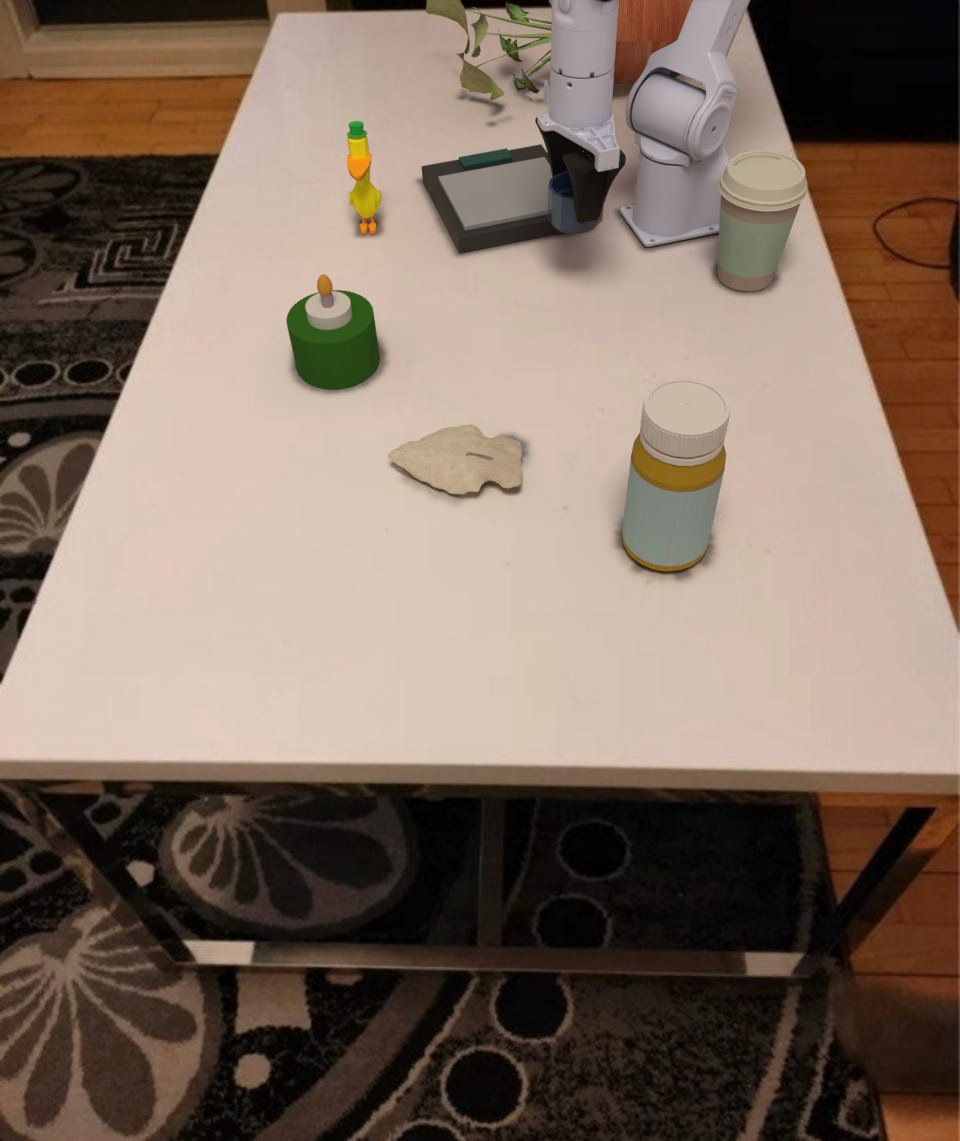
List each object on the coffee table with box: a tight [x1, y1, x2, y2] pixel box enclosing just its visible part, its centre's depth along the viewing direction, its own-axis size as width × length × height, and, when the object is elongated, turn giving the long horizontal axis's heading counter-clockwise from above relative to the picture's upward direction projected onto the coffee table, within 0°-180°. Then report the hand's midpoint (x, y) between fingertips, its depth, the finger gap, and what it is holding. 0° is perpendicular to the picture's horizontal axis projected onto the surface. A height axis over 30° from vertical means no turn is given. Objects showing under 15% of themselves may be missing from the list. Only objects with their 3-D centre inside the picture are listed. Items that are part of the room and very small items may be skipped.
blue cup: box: [548, 170, 605, 235], centre depth 101 cm, size 6×6×4 cm
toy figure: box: [346, 120, 382, 235], centre depth 110 cm, size 7×4×12 cm, turn 1°
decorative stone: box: [387, 424, 523, 495], centre depth 89 cm, size 8×12×3 cm
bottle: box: [621, 377, 731, 572], centre depth 78 cm, size 7×7×15 cm
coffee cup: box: [716, 149, 808, 292], centre depth 102 cm, size 9×9×12 cm
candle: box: [285, 273, 381, 390], centre depth 96 cm, size 8×8×10 cm
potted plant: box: [425, 0, 693, 101], centre depth 129 cm, size 16×15×35 cm
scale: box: [421, 143, 565, 254], centre depth 116 cm, size 15×16×3 cm
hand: (576, 203), depth 101 cm, fingers closed on blue cup, 5 cm apart
